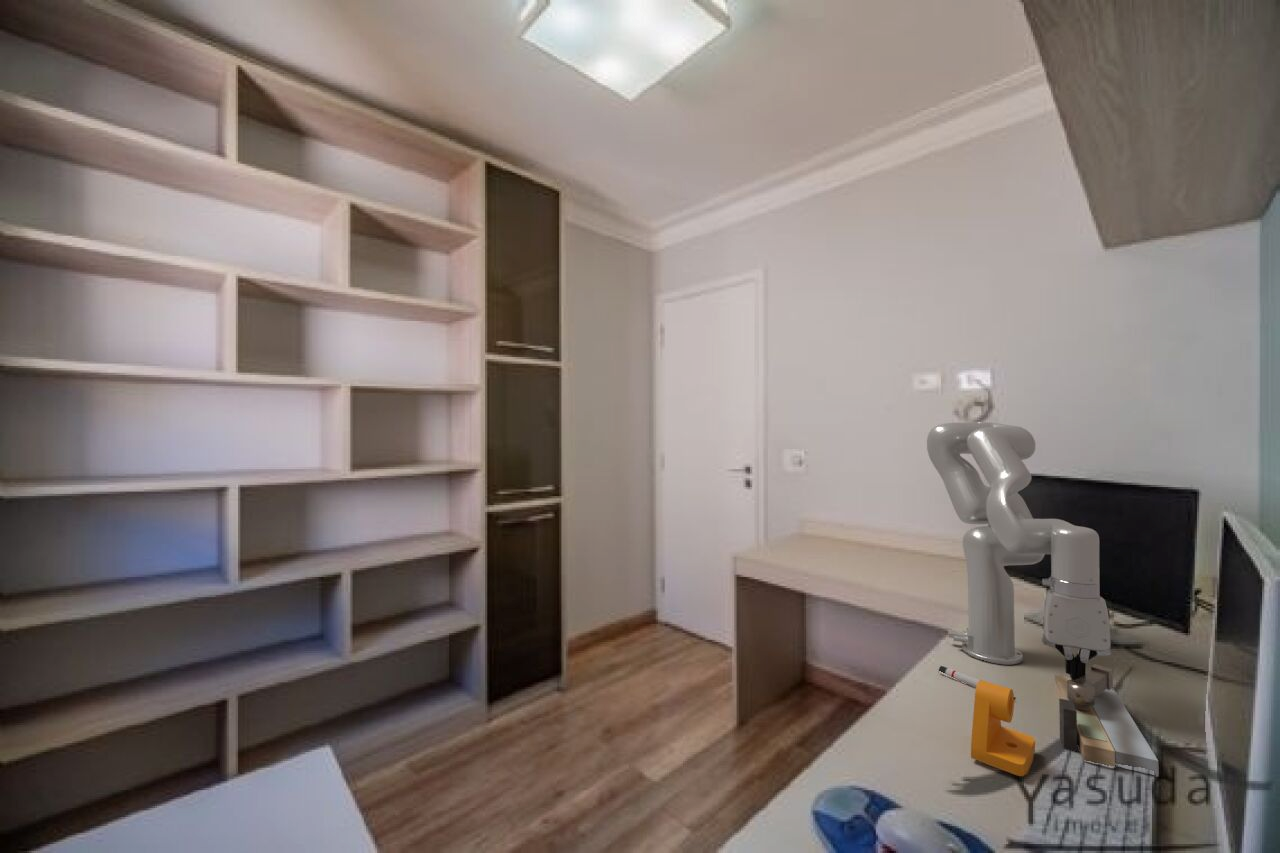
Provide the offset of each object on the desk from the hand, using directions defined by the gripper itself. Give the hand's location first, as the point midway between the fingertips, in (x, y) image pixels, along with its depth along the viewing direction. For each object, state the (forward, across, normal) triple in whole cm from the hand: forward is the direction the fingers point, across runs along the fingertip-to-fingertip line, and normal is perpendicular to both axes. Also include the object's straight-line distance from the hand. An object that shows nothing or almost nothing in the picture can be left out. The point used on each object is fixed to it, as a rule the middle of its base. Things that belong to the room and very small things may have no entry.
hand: (1075, 678), depth 106 cm
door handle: (+1, +2, -3) cm, 4 cm away
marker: (+6, -17, -1) cm, 18 cm away
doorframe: (+5, +1, -8) cm, 10 cm away
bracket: (+6, -13, -27) cm, 31 cm away
